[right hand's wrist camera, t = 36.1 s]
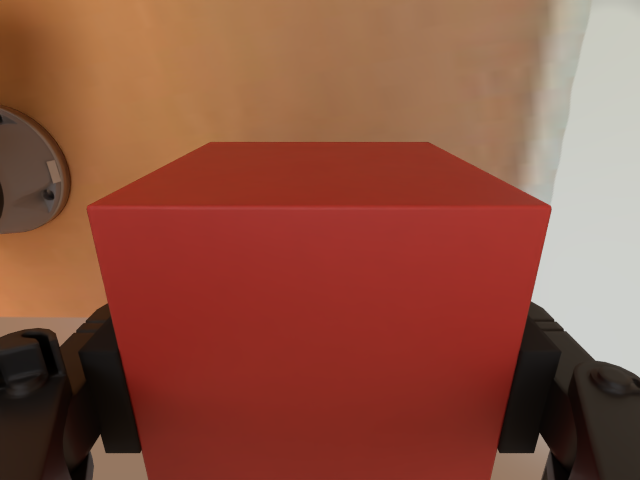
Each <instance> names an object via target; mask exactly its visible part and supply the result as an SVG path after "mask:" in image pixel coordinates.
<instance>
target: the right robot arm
mask: <svg viewBox="0 0 640 480" xmlns="http://www.w3.org/2000/svg"><path fill="white" fill-rule="evenodd" d="M69 191H70V175H69V170H68V166H67V163H66V160H65V158H64V156H63V153H62V151H61V150H60V148H59V146H58V145H57V143H56V142H55V140H54V139H53V138H52V137H51V135H50V134H49V133H48V132H47V131H46V130H45V129H44V128H43V127H42V126H41V125H39V124H38V123H37V122H36V121H34V120H33V119H31V118H30V117H28V116H27V115H25V114H23V113H21V112H19V111H17V110H15V109H12V108H9V107H6V106H2V105H0V234H6V233H20V232H26V231H30V230H33V229H36V228H38V227H40V226H42V225H44V224H46V223H48V222H49V221H51V220H52V219H54V218H55V217H56V216H57V215H58V214H59V213H60V212H61V211H62V209H63V208H64V206H65V204H66V202H67V199H68V196H69ZM539 433H540V434H541V435H542V437H543V439H544V440H545V442H546V443H547V445H548V447H549V448H550V452H549V455H548V459H547V462H546V465H545V469H544V472H543V475H542V479H541V480H640V378H639V377H638V376H637V375H635V374H634V373H632V372H630V371H628V370H626V369H624V368H622V367H619V366H616V365H613V364H610V363H606V362H601V361H595V360H594V359H593V358H592V357H591V356H590V355H589V354H588V353H587V352H586V351H585V350H584V349H583V348H582V347H581V346H580V345H579V344H578V343H577V342H576V341H575V340H574V339H573V338H572V337H571V336H570V335H569V334H568V333H567V332H566V331H564V329H563V328H562V327H561V326H560V325H559V324H558V323H557V322H554V319H553V318H552V317H551V316H550V315H549V314H548V313H547V312H546V311H545V310H544V309H543V308H542V307H540V306H538V305H536V304H535V303H533V302H530V307H529V311H528V315H527V320H526V324H525V329H524V333H523V337H522V342H521V346H520V351H519V355H518V359H517V364H516V368H515V373H514V377H513V382H512V386H511V390H510V395H509V399H508V404H507V408H506V412H505V417H504V421H503V426H502V430H501V434H500V439H499V443H498V451H499V453H534V451H535V447H536V444H537V440H538V436H539ZM100 434H101V437H102V441H103V445H104V448H105V452H106V453H140V452H141V450H142V449H141V445H140V440H139V436H138V432H137V427H136V423H135V418H134V414H133V410H132V405H131V401H130V397H129V392H128V388H127V383H126V379H125V375H124V370H123V366H122V362H121V357H120V353H119V349H118V344H117V340H116V336H115V331H114V327H113V322H112V318H111V314H110V309H109V305H108V304H106V305H104V306H102V307H101V308H99V309H97V310H96V311H95V312H94V313H93V314H92V315H91V316H90V317H89V318H88V319H87V320H86V323H83V324H82V325H81V326H80V327H79V328H78V329H77V330H76V333H73V334H72V335H71V336H70V337H69V338H68V339H67V340H66V341H65V342H64V343H63V344H62V345H61V346H60V347H59V343H58V340H57V337H56V333H54V332H53V331H51V330H49V329H42V328H34V329H25V330H21V331H17V332H14V333H10V334H7V335H5V336H2V337H0V480H92V478H93V469H94V465H93V459H92V455H91V452H90V450H91V448H92V447H93V445H94V443H95V442H96V440H97V439H98V437H99V435H100Z"/></svg>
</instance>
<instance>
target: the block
mask: <svg viewBox="0 0 640 480" xmlns="http://www.w3.org/2000/svg"><path fill="white" fill-rule="evenodd" d="M87 213H88V217H89V222H90V226H91V230H92V235H93V239H94V243H95V248H96V252H97V257H98V261H99V265H100V270H101V274H102V279H103V283H104V287H105V292H106V296H107V300H108V305H109V309H110V314H111V318H112V322H113V327H114V331H115V336H116V340H117V344H118V349H119V353H120V357H121V362H122V366H123V370H124V375H125V379H126V383H127V388H128V392H129V397H130V401H131V405H132V410H133V414H134V418H135V423H136V427H137V432H138V436H139V440H140V445H141V449H142V454H143V458H144V463H145V467H146V471H147V476H148V480H490V478H491V474H492V469H493V465H494V461H495V456H496V452H497V448H498V443H499V439H500V434H501V430H502V426H503V421H504V417H505V412H506V408H507V404H508V399H509V395H510V390H511V386H512V382H513V377H514V373H515V368H516V364H517V359H518V355H519V351H520V346H521V342H522V337H523V333H524V329H525V324H526V320H527V315H528V311H529V307H530V302H531V298H532V293H533V289H534V285H535V280H536V276H537V271H538V267H539V263H540V258H541V254H542V249H543V245H544V241H545V236H546V232H547V227H548V223H549V218H550V214H551V206H550V205H548V204H546V203H544V202H542V201H541V200H539V199H537V198H535V197H533V196H531V195H529V194H527V193H525V192H523V191H521V190H519V189H517V188H516V187H514V186H512V185H510V184H508V183H506V182H504V181H502V180H500V179H498V178H496V177H494V176H492V175H491V174H489V173H487V172H485V171H483V170H481V169H479V168H477V167H475V166H473V165H471V164H469V163H467V162H466V161H464V160H462V159H460V158H458V157H456V156H454V155H452V154H450V153H448V152H446V151H444V150H442V149H441V148H439V147H437V146H435V145H433V144H431V143H429V142H210V143H208V144H206V145H204V146H202V147H200V148H198V149H196V150H194V151H192V152H190V153H188V154H186V155H185V156H183V157H181V158H179V159H177V160H175V161H173V162H171V163H169V164H167V165H165V166H163V167H161V168H160V169H158V170H156V171H154V172H152V173H150V174H148V175H146V176H144V177H142V178H140V179H138V180H136V181H134V182H133V183H131V184H129V185H127V186H125V187H123V188H121V189H119V190H117V191H115V192H113V193H111V194H109V195H107V196H106V197H104V198H102V199H100V200H98V201H96V202H94V203H92V204H90V205H88V206H87Z"/></svg>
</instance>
